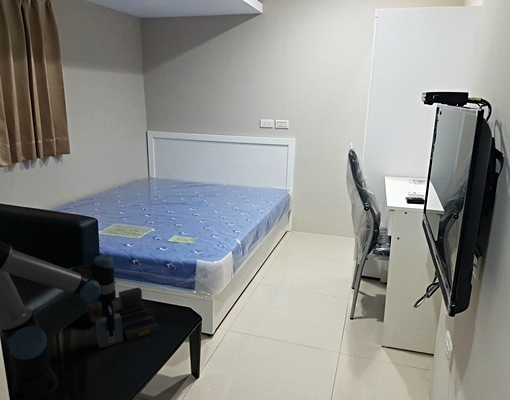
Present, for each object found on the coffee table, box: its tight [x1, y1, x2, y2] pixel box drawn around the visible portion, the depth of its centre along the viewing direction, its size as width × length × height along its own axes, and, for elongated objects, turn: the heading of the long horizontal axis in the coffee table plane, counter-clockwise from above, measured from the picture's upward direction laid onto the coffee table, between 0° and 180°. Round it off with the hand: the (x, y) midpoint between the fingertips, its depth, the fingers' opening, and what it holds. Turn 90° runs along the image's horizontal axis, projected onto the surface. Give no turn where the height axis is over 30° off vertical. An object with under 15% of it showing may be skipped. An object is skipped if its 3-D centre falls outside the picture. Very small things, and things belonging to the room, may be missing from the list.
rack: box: [114, 286, 160, 342], centre depth 197 cm, size 14×25×14 cm, turn 31°
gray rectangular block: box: [95, 313, 124, 349], centre depth 182 cm, size 10×4×12 cm, turn 121°
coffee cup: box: [87, 299, 103, 324], centre depth 199 cm, size 8×8×15 cm
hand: (110, 339), depth 183 cm, fingers closed on gray rectangular block, 4 cm apart
